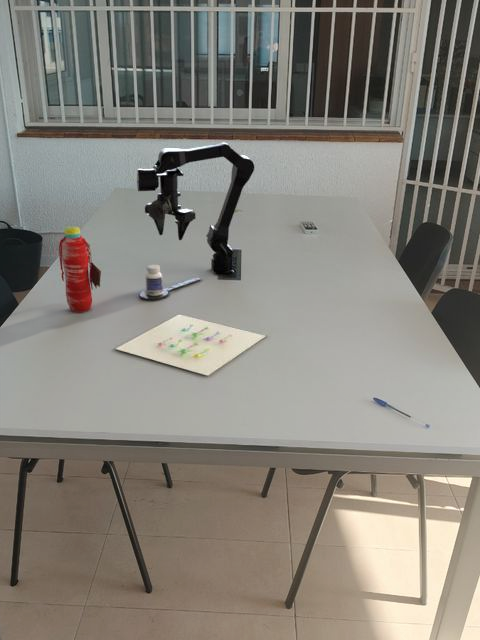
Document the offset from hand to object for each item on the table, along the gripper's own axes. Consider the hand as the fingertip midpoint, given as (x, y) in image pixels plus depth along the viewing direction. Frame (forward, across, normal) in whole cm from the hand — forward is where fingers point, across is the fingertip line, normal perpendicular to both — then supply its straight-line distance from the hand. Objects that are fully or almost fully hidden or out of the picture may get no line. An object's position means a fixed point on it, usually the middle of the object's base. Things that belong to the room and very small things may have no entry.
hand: (170, 237), depth 238 cm
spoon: (+13, +11, -11) cm, 20 cm away
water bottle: (+13, +4, -41) cm, 44 cm away
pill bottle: (+12, +11, -19) cm, 25 cm away
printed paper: (+13, +46, -38) cm, 61 cm away
